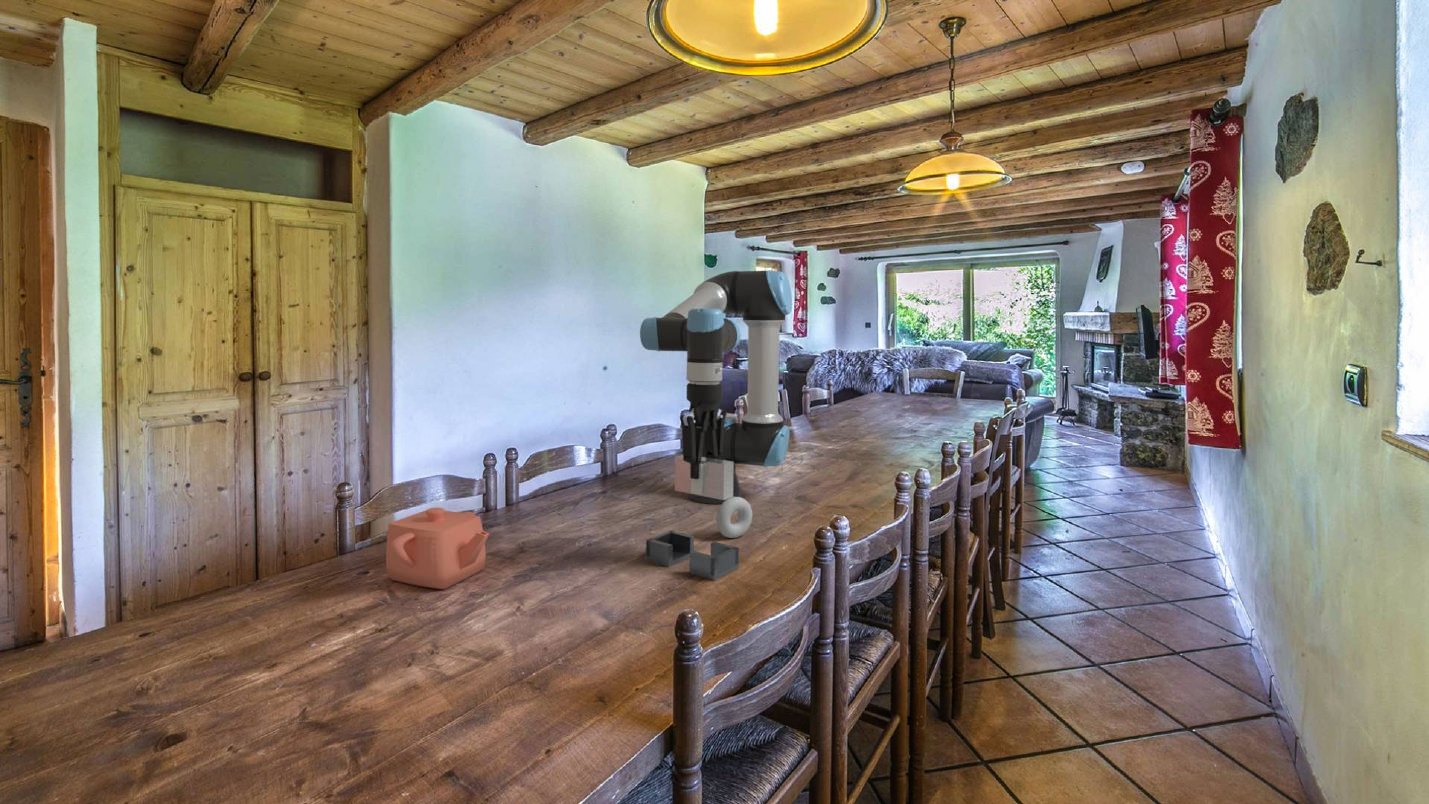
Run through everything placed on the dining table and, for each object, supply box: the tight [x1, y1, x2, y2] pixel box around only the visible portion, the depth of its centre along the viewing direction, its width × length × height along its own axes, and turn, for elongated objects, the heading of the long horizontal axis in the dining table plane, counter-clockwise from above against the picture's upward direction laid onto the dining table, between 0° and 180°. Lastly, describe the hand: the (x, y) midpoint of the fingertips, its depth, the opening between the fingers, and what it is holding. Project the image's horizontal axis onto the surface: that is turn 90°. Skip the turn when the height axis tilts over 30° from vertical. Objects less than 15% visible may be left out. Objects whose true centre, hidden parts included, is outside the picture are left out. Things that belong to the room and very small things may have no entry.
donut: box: [715, 496, 753, 539], centre depth 162 cm, size 10×4×10 cm, turn 125°
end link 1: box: [645, 530, 695, 568], centre depth 148 cm, size 8×6×4 cm
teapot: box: [385, 507, 490, 590], centre depth 135 cm, size 20×22×14 cm
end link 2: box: [689, 541, 740, 582], centre depth 141 cm, size 8×6×4 cm
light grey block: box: [674, 454, 734, 500], centre depth 145 cm, size 4×13×8 cm, turn 54°
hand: (703, 491), depth 145 cm, fingers closed on light grey block, 3 cm apart
